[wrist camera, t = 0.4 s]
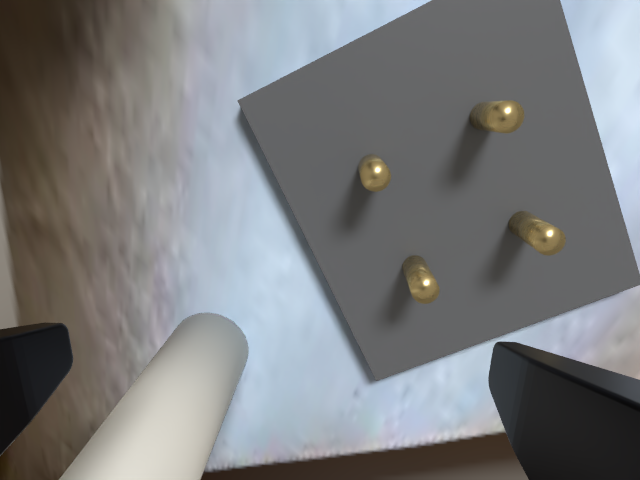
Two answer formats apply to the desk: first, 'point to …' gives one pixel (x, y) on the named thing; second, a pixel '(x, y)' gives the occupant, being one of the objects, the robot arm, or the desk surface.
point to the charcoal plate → (448, 177)
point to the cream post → (170, 408)
